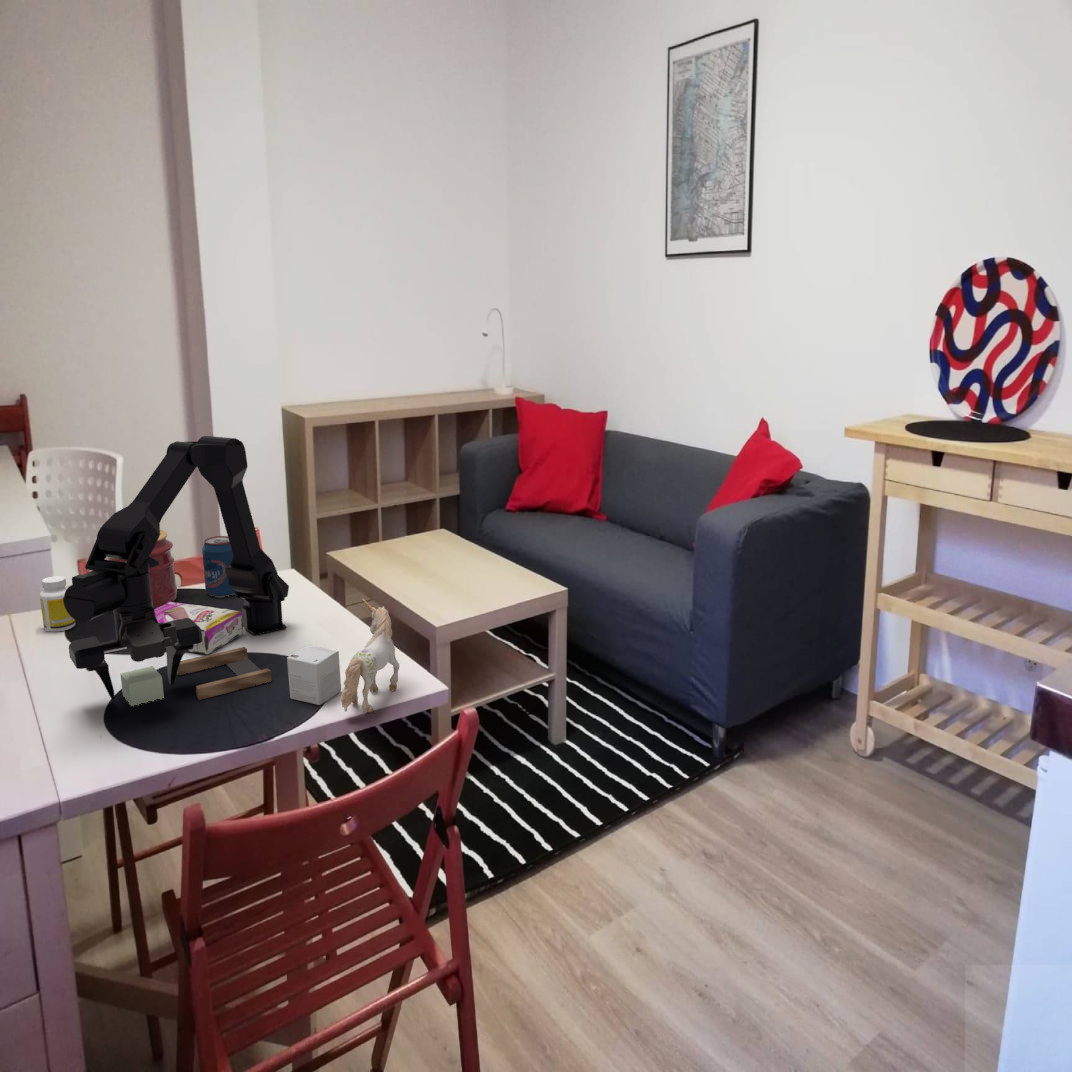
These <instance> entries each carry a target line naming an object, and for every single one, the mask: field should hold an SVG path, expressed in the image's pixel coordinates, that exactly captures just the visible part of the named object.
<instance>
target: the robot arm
mask: <svg viewBox="0 0 1072 1072" xmlns="http://www.w3.org/2000/svg"><path fill="white" fill-rule="evenodd" d="M246 452H247V451H246V447H245V445H244V442H243V441H242V440H239V439H238V438H237V437H223V436H212V435H203V436H201V437H200V438H199V439H198V440H197V441H178V440H177V441H175V442H170V444H169V445H168V446H167V448H166V454H165V456H164V457H163V458H162V460H161V461H160V462H159V464H158V465H157V467H156V468H155V469H154V470H153V472H152V474H151V475H150V476H149V478H148V479H147V480H146V482H145V484H144V485H143V487H141V489H140V491H139V492H138V493H137V495H136V496H135V498H134V499H133V500H132V502H130V503H129V504H128V505H127V506H126V507H123V508H121V509H120V510H117V511H116V512H114V513H113V514H112V515H110V517H109V518H108V519H107V520H106V521H105V522H104V523H103V524H102V525H101V526H100V528H99V530H98V532H97V534H96V539H95V542H94V544H93V546H92V549H91V551H90V554H89V556H88V559H87V560H86V561H87V562H86V564H85V566H84V568H85V570H86V571H87V570H88V571H89V572H85V573H83V574H77V575H74V576H72V577H71V583H72V585H70V586H68V587H67V590H66V592H65V595H64V597H63V602H64V606H65V609H66V611H67V612H68V614H69V615H70V616H71V617H72V618H73V619H75V622H79V623H87V622H89V621H92V620H94V619H96V618H98V617H101V616H104V615H105V614H108V613H110V612H113V619H114V620H113V621H114V629H115V631H114V633H115V637H116V639H112V640H107V641H102V642H100V640H99V639H98V638H97V636H89V637H86V638H85V637H84V638H80V639H75V640H71V642H70V644H69V645H68V652H69V659H70V660H71V662H72V663H73V665H74V667H75V668H76V669H80V670H82V669H83V670H84V669H85V670H86V671H87V672H94V671H95V673H96V674H97V675H98V677H99V679H100V680H101V683H103V686H104V688H105V690H106V692H107V693H108V695H109V697H110V699H111V700H115V688H114V686H113V682H112V679H111V673H110V669H109V666H110V665H109V664H108V662H107V661H106V657H105V655H109V654H112V653H117V652H118V653H119V652H123V651H128V653H129V655H130V659H131V660H132V661H134V662H137V663H140V662H143V661H145V660H149V659H154V658H157V659H159V658H161V657H163V656H165V655H166V669H167V670H166V671H167V678H168V684H169V685H170V686H173V685H175V680H176V678H177V675H178V674H177V671H178V667H179V664H180V661H182V659H183V656H184V655H185V654H186V653H187V652H189V651H188V650H190V649H193V647H194V644H198V643H201V642H202V632H201V629H200V627H199V626H198V625H197V624H196V623H195V622H194V621H193V620H191V619H190V618H184V619H179V620H174V621H169V622H166V623H163V622H162V623H158V621H157V619H156V617H155V612H154V608H153V602H152V592H151V583H150V573H149V569H150V568H153V567H155V566H158V565H159V562H158V561H157V560H155V559H153V558H152V557H150V556H149V555H150V554H151V552H152V551H153V549H154V546H155V544H156V542H157V540H158V538H159V536H160V529H161V527H160V525H161V524H160V523H161V521H162V519H163V518H164V516H165V514H166V513H167V511H168V509H169V508H170V507H171V505H172V504H173V502H174V501H175V500H176V498H177V496H178V495H179V493H180V491H181V490H182V489H183V488H184V486H185V484H186V483H187V481H188V480H189V479H190V477H191V475H192V474H193V473H194V472H195V470H196V468H198V471H199V473H200V475H201V476H202V477H203V478H204V479H205V480H206V481H207V482H208V483H209V484H210V485H211V487H212V488H213V490H214V492H215V493H214V494H215V496H216V500H217V503H218V507H219V510H220V514H221V518H222V521H223V524H224V526H225V532H226V534H227V535H226V536H228V538H229V542H230V545H231V549H232V552H233V558H232V560H231V563H230V565H229V566H228V567H227V568H226V569H225V572H226V574H227V576H228V580H229V586H232V588H233V589H234V592H235V594H234V595H235V597H236V598H237V599H243V605H242V606H241V612H242V623H243V625H242V626H243V628H245V629H246V630H247V631H248V632H249V633H250V634H252V635H254V636H257V635H262V634H266V633H270V632H276V631H279V630H284V629H286V628H287V625H286V624H285V623H284V622H283V609H282V607H283V606H282V602H284V601H285V598H287V597H288V595H289V589H290V585H289V584H288V583H287V582H286V581H284V580H283V578H282V577H281V576H280V575H279V574H278V570H277V568H276V566H275V564H274V561H273V560H272V559H271V557H270V556H268V555H267V553H266V552H264V551H263V549H262V548H261V545H260V542H259V538H258V534H257V531H256V526H255V523H254V519H253V515H252V512H251V508H250V505H249V501H248V497H247V493H246V490H245V485H244V481H243V480H244V477H245V474H246V472H247V469H248V467H249V466H248V459H247V453H246ZM108 557H110V558H117V559H124V560H127V561H126V562H118V561H111V560H108V559H106V558H108ZM165 647H166V648H165ZM165 649H166V650H165ZM165 651H166V652H165Z"/></svg>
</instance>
